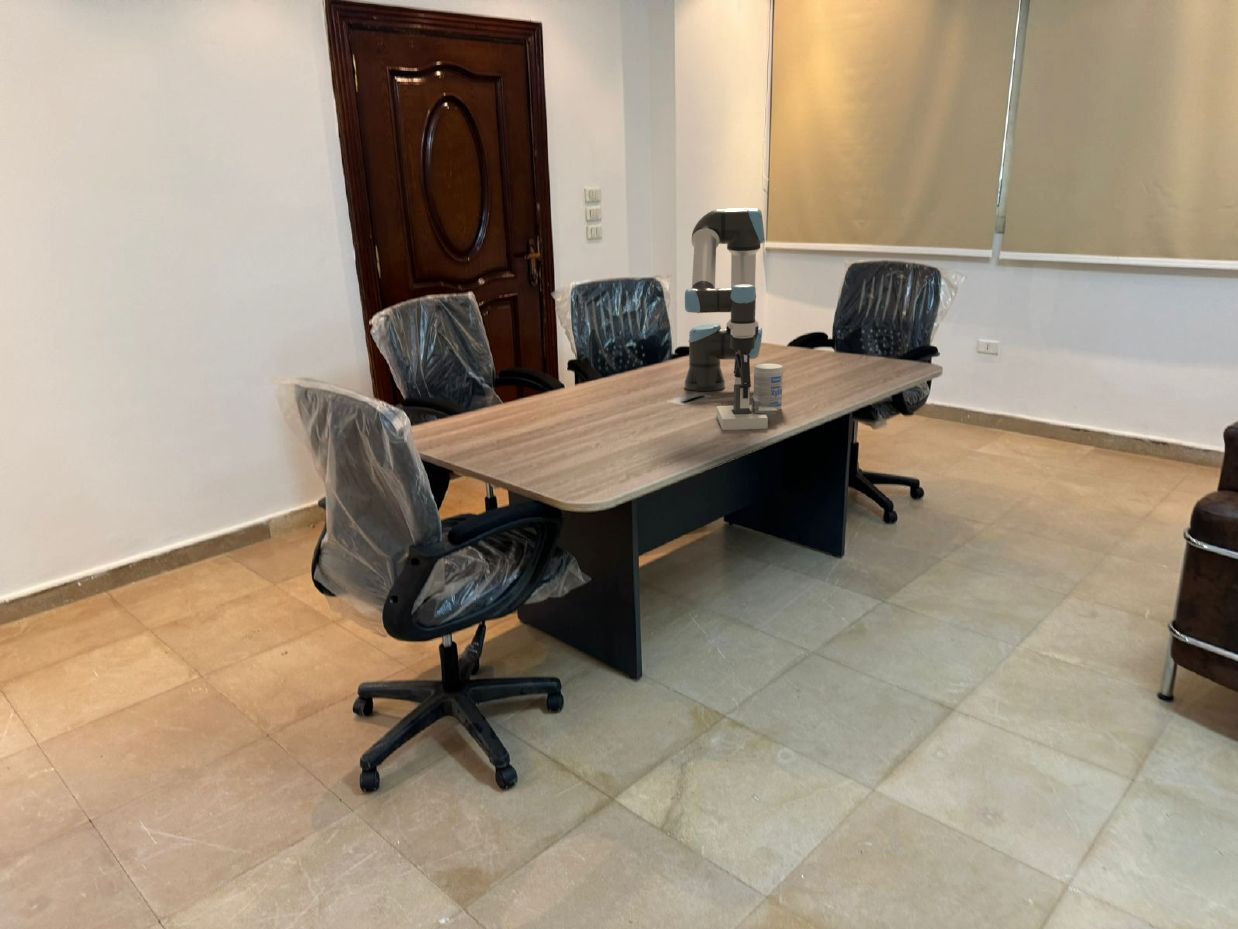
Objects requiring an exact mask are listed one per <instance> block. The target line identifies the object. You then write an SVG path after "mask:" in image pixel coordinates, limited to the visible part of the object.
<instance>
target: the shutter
mask: <svg viewBox="0 0 1238 929" xmlns="http://www.w3.org/2000/svg"><path fill="white" fill-rule="evenodd" d="M751 405H752V409H753V411H754V413H765V414H775V413H778V410H777V409H776V408H775V406H774V405H759V401H758V399H757V398H756V397H754V396H751Z"/></svg>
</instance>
